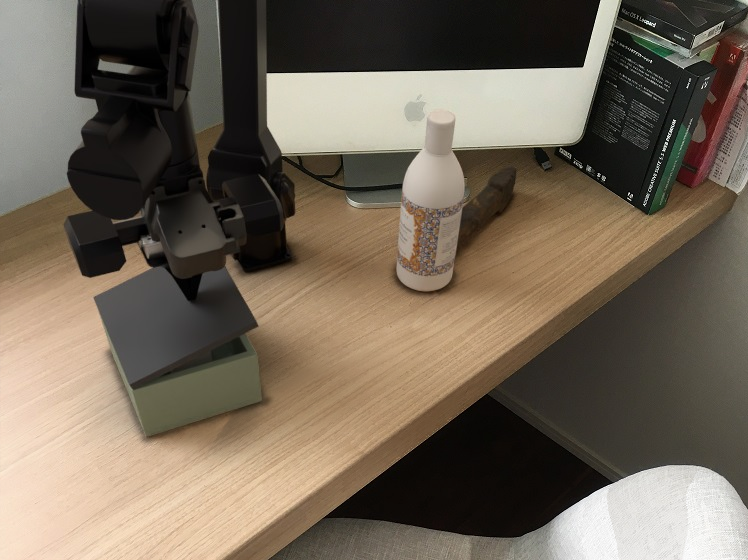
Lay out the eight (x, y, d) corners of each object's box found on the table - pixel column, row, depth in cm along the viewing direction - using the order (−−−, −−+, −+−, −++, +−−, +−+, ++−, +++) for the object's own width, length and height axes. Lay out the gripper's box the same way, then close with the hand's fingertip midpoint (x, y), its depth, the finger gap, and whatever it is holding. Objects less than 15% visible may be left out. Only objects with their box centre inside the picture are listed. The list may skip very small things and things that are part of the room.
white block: (202, 349, 86) (196, 318, 83) (215, 376, 84) (210, 345, 80) (162, 361, 85) (154, 329, 81) (174, 389, 83) (167, 357, 79)
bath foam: (387, 264, 98) (397, 104, 81) (437, 252, 99) (457, 94, 83) (409, 298, 94) (424, 138, 78) (461, 286, 96) (486, 127, 80)
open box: (220, 321, 90) (212, 273, 85) (262, 401, 83) (257, 354, 78) (111, 351, 87) (95, 303, 81) (146, 437, 80) (132, 390, 74)
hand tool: (450, 266, 98) (455, 235, 94) (424, 253, 99) (428, 221, 95) (529, 200, 107) (536, 168, 103) (504, 188, 108) (510, 157, 105)
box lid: (212, 245, 82) (209, 239, 81) (259, 326, 75) (256, 320, 75) (96, 302, 81) (92, 296, 80) (133, 390, 74) (129, 385, 74)
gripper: (70, 229, 58) (118, 378, 71) (303, 176, 63) (309, 324, 76) (39, 151, 64) (88, 302, 77) (255, 109, 69) (268, 257, 82)
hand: (190, 297), depth 78 cm, fingers closed
